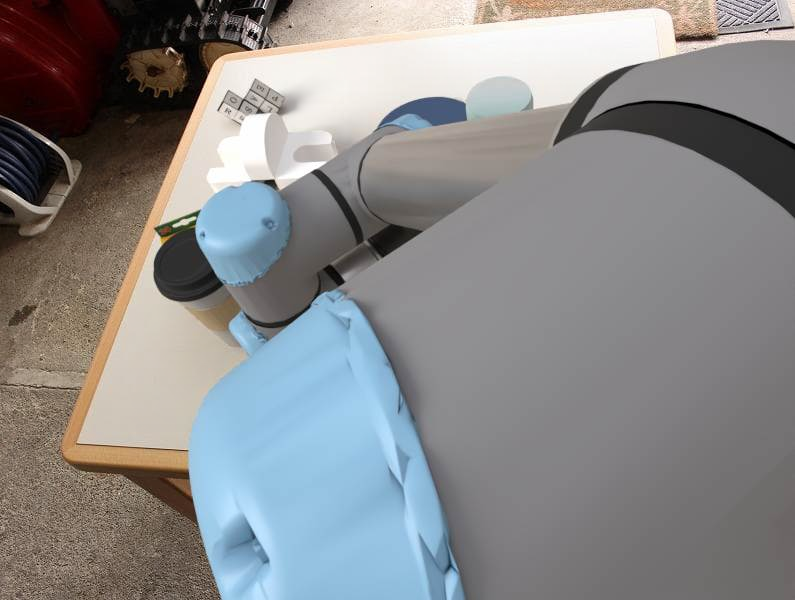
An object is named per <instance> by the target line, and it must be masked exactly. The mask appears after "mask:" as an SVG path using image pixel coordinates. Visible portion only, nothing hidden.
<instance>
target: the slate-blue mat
mask: <svg viewBox="0 0 795 600" xmlns="http://www.w3.org/2000/svg"><path fill="white" fill-rule="evenodd" d="M406 114H415V115H418V116H420V117H421V118H422V119H423V120H427V121H428V122H429V123H430V124H432V125H433V126H439V125H445V124H451V123H456V122H462V121H467V114H466V102H464V101H461V100H459V99H456V98H452V97H446V96H427V97H422V98H417V99H414V100H410V101H408V102H405V103H403V104H401V105H399V106H397V107H395V108H394V109H392V110H391V111H390V112H389V113H387V114H386V115H385V116H384V117H383V118H382V119H381V121H380V122H379V124H378V126H377V127H376V129H377V128H378V127H380V126H383V125H384V124H387V123H390V122H392V121H394V120H396V119H398V118H399V117H401V116H403V115H406Z"/></svg>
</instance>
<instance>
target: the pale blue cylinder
mask: <svg viewBox="0 0 795 600" xmlns="http://www.w3.org/2000/svg"><path fill="white" fill-rule="evenodd" d="M465 104H466V114H467V121H468V120H474V119H480V118H485V117H491V116H497V115H503V114H509V113H515V112H520V111H526V110H532V109H534V96H533V93H532V90H531V88H530V86H529V85H528V84H527V83H526V82H525V81H524V80H521V79H519V78H516V77H514V76H513V77H512V76H494V77H490V78H487V79H484V80H482V81H480V82H478V83H477V84H475V85H474V86H473V87H472V88H471V89H470V90H469V92H468V94H467V97H466V101H465Z"/></svg>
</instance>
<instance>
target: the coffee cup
mask: <svg viewBox="0 0 795 600" xmlns="http://www.w3.org/2000/svg"><path fill="white" fill-rule="evenodd" d="M152 275H153V281H154V284H155V286H156V288H157V290H158V292H159V293H160V294H161V296H163V297H164V298H165V299H168V300H169V301H173V302H176V303H177V302H178V303H179V304H180V306H182V307H183V308H184V309H185V310H186V311H188V313H190V314H191V315H192V316H193V317H194V318H195V319H196V320H197V321H199V322H200V323H201V324H202V325H203V326H205V327H206V328H207V329H209V330H211V331H212V332H213V333H214V334H215V335H216V336H217V337H219V338H220V339H221V340H222V341H223V342H225V343H226V344H227V345H229V346H231V347H235V348H243V347H242V346H241V345H240V343H239V342H238V341H237V340H236V338H235V337H234V336H233V334H232V333H231V332H230V330H229V323H230V321H231V320H232V319H233V318H234V317H236V316H237V315H238V314H239V313H240V311H242V308H241V307H240V306H239V304H238V303H237V301H236V300H235V299H234V297H233V296H232V295H231V293H230V292H229V291H228V289H227V288H226V287H225V285H224V284H223V282H221V281H220V280H219V278H218V277H217V275H216V273H215V272H214V270H213V269H212V267H211V264H210V263H209V261H208V260H207V258H206V256H205V255H204V253H203V251H202V250H201V248H200V246H199V243H198V241H197V237H196V227H192V228H188V229H185V230H182V231H180V232H178V233H176V234H175V235H173V236H172V237H170V238H169V239H168V240H167V241H166V242H165V243H164V244H163V245H162V244H161V246H160V247H159V248H158V250H157V251H156V254H155V256H154V259H153V273H152Z"/></svg>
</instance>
